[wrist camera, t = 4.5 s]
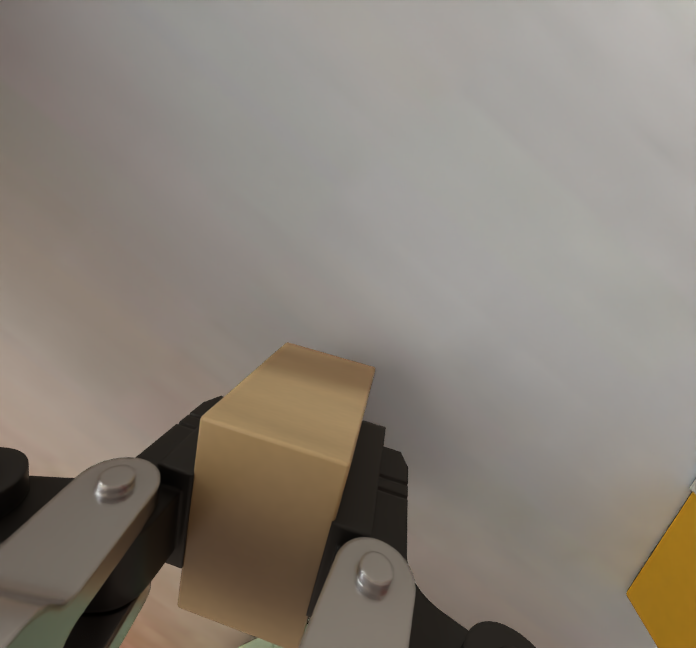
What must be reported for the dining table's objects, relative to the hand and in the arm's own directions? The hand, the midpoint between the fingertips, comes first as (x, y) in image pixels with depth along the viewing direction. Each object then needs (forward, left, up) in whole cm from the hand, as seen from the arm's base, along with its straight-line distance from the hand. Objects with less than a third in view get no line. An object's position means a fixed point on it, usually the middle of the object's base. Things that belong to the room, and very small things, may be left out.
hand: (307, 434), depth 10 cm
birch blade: (+2, 0, -1) cm, 2 cm away
